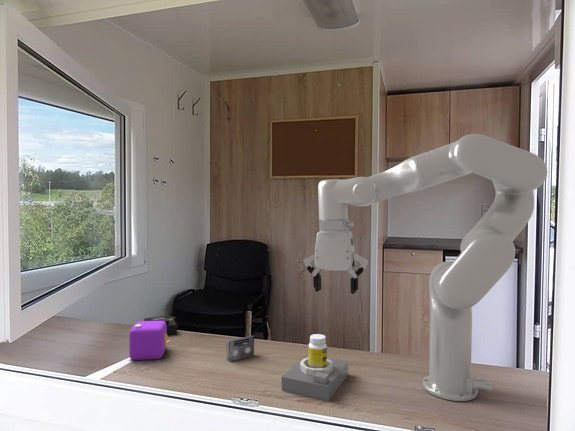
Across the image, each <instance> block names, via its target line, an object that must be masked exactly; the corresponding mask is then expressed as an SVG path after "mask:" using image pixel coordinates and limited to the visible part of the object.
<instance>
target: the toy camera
mask: <svg viewBox="0 0 575 431" xmlns="http://www.w3.org/2000/svg"><path fill="white" fill-rule="evenodd" d="M128 337H129V339H128V340H129V341H128V342H129V343H128V345H129V350H128V351H129V358H130V360H132V361H147V360H150V361H151V360H152V361H153V360H160V359H161V358H162V357H163V356H164V353H165V351H166V350H167V347H168V346H167V344H168V340H169V339H168V338H169V336H167V325H166V322H165V321H144V320H142V321H138V322H136V323H135V324H134V325H133V327H131V328H130V331H129V336H128Z"/></svg>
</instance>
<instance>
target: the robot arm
mask: <svg viewBox="0 0 575 431" xmlns="http://www.w3.org/2000/svg"><path fill="white" fill-rule="evenodd" d="M471 174H476V175H478V176H481V177H483V178H484V179H487V180H489V181H491V183H492V184H493V187H494V190H495V192H494V193H495V197H494V200H493V203H492V204H491V206H490V207H489V209H488V210H487V211H486V212H485V214H483V216H482V217H481V218H480V219H479V220H478V221H477V222H476V224H475V225H474V226H473V227H472V228H471V229H470V230H469V232H467V234H465V235H464V236H463V238H462V240H461V242H460V246H459V248H460V253H459V255H458V256H457V257H456V258H455V260H454V261H453V260H447V261H446V260H445V261H442V262H439V263H438V264H436V265H435V267H433V269H432V270H431V271H430V275H429V280H428V285H429V286H428V289H429V310H430V311H429V313H430V314H429V317H430V318H429V364H428V365H429V371H428V372H429V374H428V375H426V376H424V377H423V379H422V387H423V389H424V390H426V392H428V393H429V394H431V395H433V396H435V397H437V398H440V399H443V400H447V401H454V402H467V401H472V400H474V399H476V398H477V397H478V394H479V390H483V391H485V392H493V383H492V382H487V379H486V378H481V377H480V378H479V377H476V375H473V370H472V342H473V340H472V339H473V338H472V337H473V336H472V335H473V332H472V331H473V309H472V307H475V305H477V304H478V303H479V302H480V301H481V300H482V299H483V298H484V297H485V296H486V295H487V294H488V293H489V292H490V291H491V290H492V289H493V287H494V286H495V285H496V284H497V283H498V282H499V281H500V280H501V279H502V278H503V277H504V275H505V274H507V272H508V270H509V269H510V268H511V266H512V265H513V263H514V261H515V257H516V247H515V244H514V241H515V239H516V238H517V237H518V235H520V233H521V232H522V231H523V230H524V228H526V226H527V225H528V222H529V221H530V219H531V218H532V215H533V213H534V208H535V192H534V190H537V189H538V188H539V187H541V186H542V185H543V184H544V183H545V181H546V180H547V177H548V167H547V164H546V162H545V161H544V160H543V159H542V158H541V157H540V156H539V155H537V154H535V153H534V152H531V151H528V150H525V149H523V148H520V147H517V146H514V145H512V144H509V143H507V142H505V141H504V142H503V141H501V140H498V139H495V138H492V137H490V136H487V135H484V134H478V133H470V134H466V135H463V136H462V137H460V138H459V139H458V140H457V141H454V142H450V143H448V144H445V145H442V146H440V147H437V148H434V149H431V150H428V151H426V152H421V153H420V154H416V155H414V156H410V157H409V158H406V159H405V160H403V161H401V163H399V164H397V165H396V166H393V167H391V168H388V169H387V170H384V171H381V172H378V173H376V174H374V175H373V174H372V175H370V176H367V177H366V176H356V177H352V178H345V179H339V178H333V179H332V178H331V179H323V180H321V181H319V182H318V186H317V190H318V192H317V196H318V220H319V221H318V222H319V223H318V225H319V226H318V227H319V229H318V230H319V231H318V232H317V233H316V237H315V238H316V239H315V245H314V253H313V254H311V255H310V256H308V257H306V258H304V259H303V264H304V266H305V267H306V270H307V272H308V273H310V275H311V276H312V282H313V288H314V292H316V293H318V292H320V291H321V290H322V276H321V274H320V273H321V272H322V271H339V272H340V271H343V272H344V271H347V272H348V274H350V276H351V278H350V294H352V295H355V294H356V293H357V291H358V290H359V276H360V275H361V274H362V273H363V272H365V269H366V268H367V266H368V264H369V261H368V259H366V258H364V257H362V256H361V255H358V254H357V253H356V251H355V250H356V249H355V242H354V237H353V232H352V231H349V230H350V228H353V227H354V225H355V224H354V222H353V221H350V220H349V209H348V207H349V206H353V207H368V206H371V205H374V204H376V203H380V202H382V201H385V200H389V199H392V198H395V197H397V196H401V195H405V194H409V193H415V192H419V191H421V190H424V189H428V188H430V187H433V186H437V185H440V184H443V183H446V182H450V181H452V180H455V179H457V178H461V177H465V176H468V175H471ZM313 260H314V266H315V267H314V266H313V265H312V263H311V262H312V261H313ZM357 262H358V263H360V266H359V268H357V269H356V268H355V267H356V263H357Z"/></svg>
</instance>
